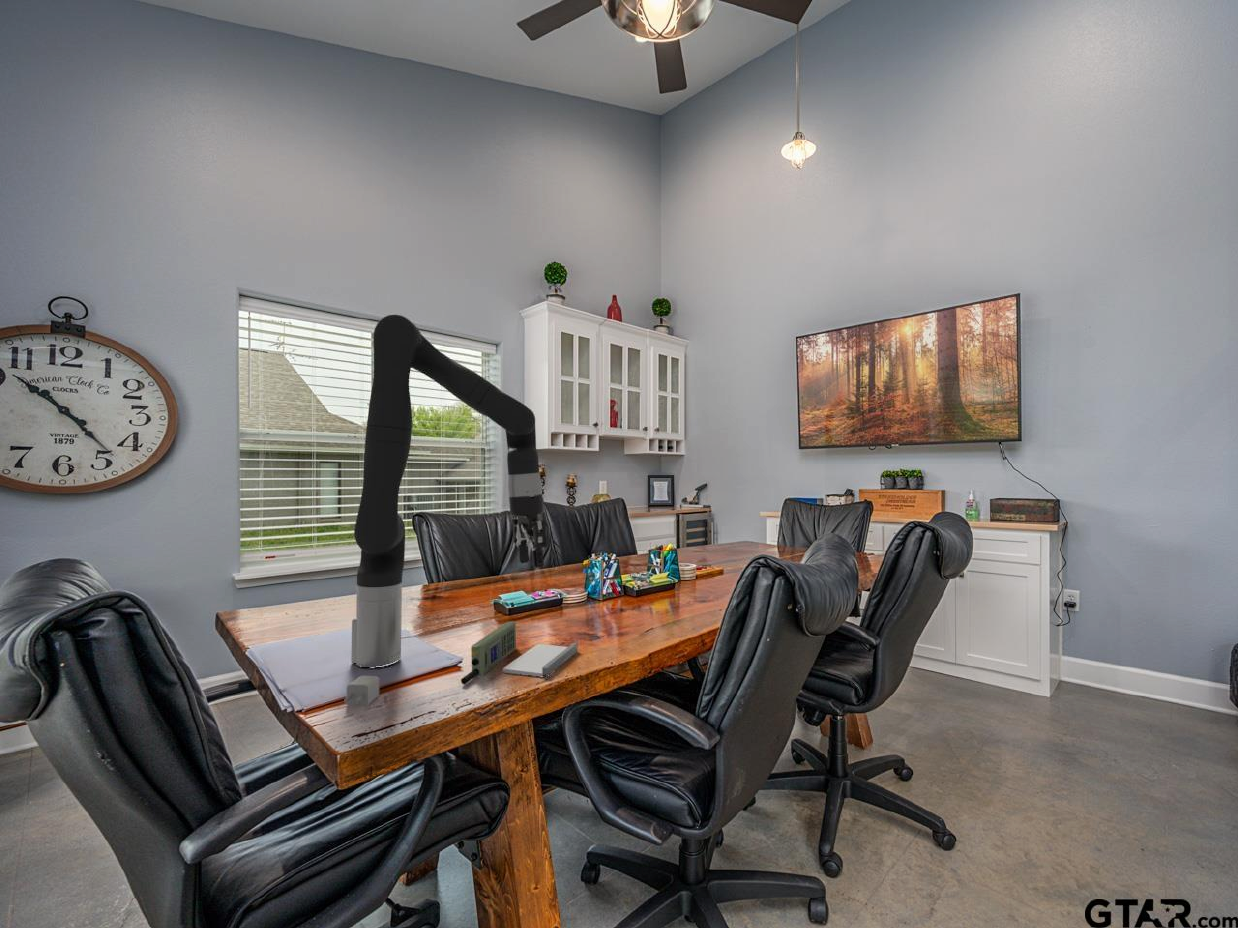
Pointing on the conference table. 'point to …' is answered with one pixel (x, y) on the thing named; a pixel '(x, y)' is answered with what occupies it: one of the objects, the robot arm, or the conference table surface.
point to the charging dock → (541, 660)
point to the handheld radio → (491, 650)
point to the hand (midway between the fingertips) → (531, 564)
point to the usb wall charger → (362, 691)
